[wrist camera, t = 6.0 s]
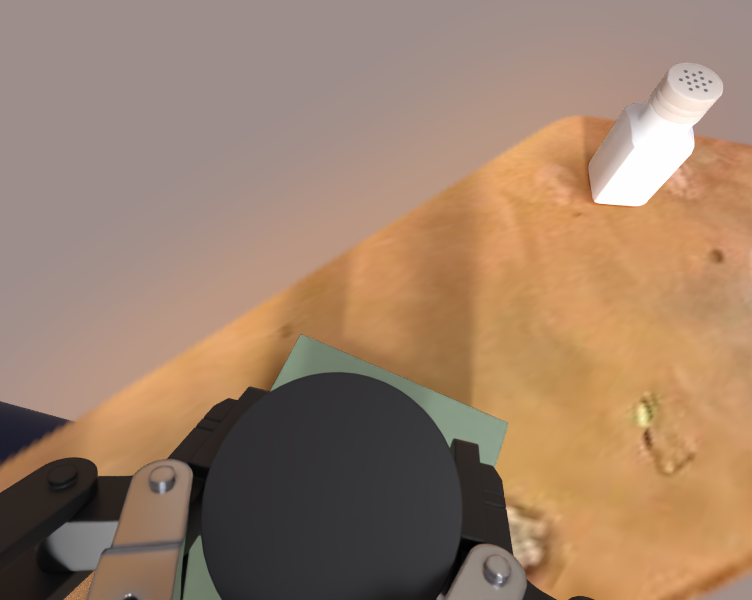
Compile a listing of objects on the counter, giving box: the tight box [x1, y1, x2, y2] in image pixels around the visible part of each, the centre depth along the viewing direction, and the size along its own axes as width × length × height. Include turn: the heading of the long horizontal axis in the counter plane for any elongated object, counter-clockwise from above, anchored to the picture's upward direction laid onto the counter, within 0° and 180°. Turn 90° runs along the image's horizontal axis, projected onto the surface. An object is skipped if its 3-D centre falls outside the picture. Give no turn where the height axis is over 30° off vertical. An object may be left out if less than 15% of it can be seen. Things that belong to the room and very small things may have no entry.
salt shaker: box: [588, 62, 723, 206], centre depth 30 cm, size 4×4×10 cm
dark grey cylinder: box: [200, 372, 463, 600], centre depth 14 cm, size 6×6×9 cm
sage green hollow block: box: [184, 334, 508, 600], centre depth 21 cm, size 10×11×8 cm
